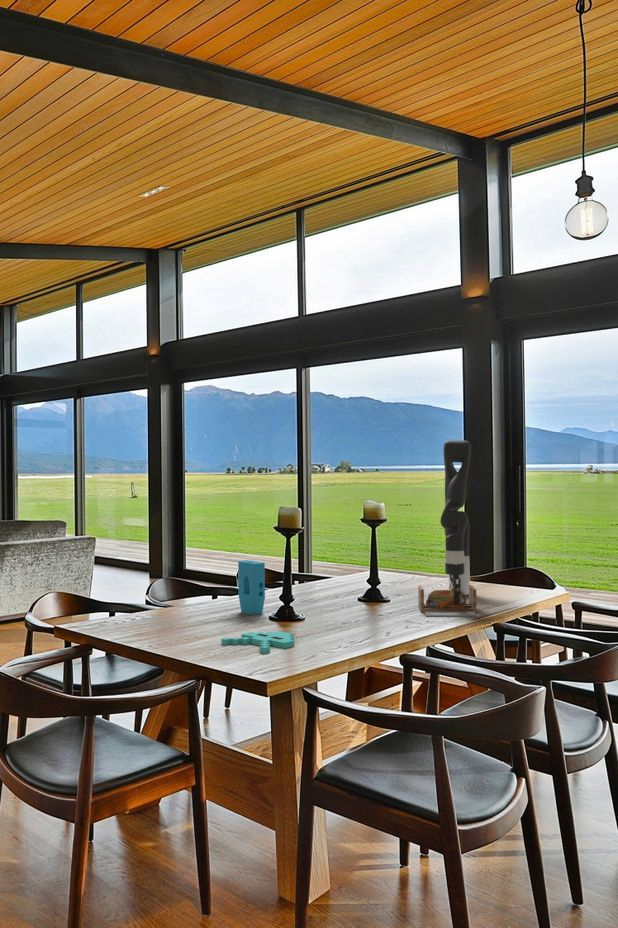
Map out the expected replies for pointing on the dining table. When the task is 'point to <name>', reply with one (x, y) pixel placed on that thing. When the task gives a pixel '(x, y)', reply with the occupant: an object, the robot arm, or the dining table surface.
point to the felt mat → (450, 614)
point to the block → (251, 586)
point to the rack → (468, 608)
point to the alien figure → (263, 640)
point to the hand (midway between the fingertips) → (455, 603)
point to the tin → (445, 599)
